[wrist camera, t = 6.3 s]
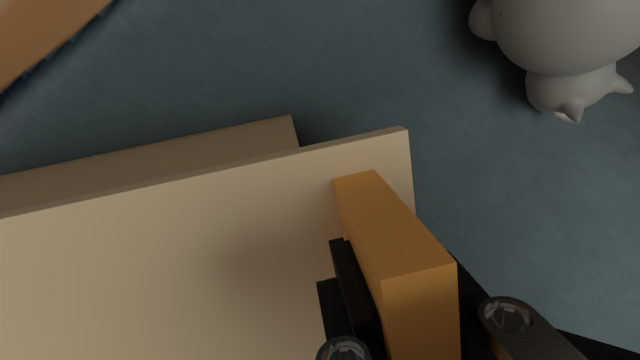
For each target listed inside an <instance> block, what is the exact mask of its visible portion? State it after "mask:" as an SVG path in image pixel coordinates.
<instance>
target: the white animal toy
mask: <svg viewBox="0 0 640 360" xmlns="http://www.w3.org/2000/svg"><path fill="white" fill-rule="evenodd" d="M468 24H469V28H470V30H471V31H472V32H473V33H474V34H475V35H476V36H478V37H480V38H482V39H485V40H491V41H497V44H498V45H499V47H500V49H501V50H502V52H503V53H504V54H505V55H506V56H507V57H508V58H509V59H510V60H511V61H512V62H513V63H515V64H516V65H518V66H519V67H521V68H523V69H525V70H527V73H526V78H525V85H526V90H527V92H526V95H527V99H528V101H529V103H530V104H531V105H532V106H533V107H535V108H536V109H537V110H538V111H541V112H544V111H549V112H551V113H552V114H553V115H554V116H556V117H557V118H559V119H560V120H563V121H566V122H570V123H579V122H580V121H581V119H582V117H583V112H584V108H586V107H588V106H590V105H592V104H594V103H596V102H597V101H598V100H600V99H601V98H602V97H603V96H605V95H606V94H608V93H611V92H618V93H624V94H629V93H632V92H633V91H634V89H633V87H632V86H631V84H630V83H629V82H628V81H627V80H626V79H624V78H623V77H622V76H620V75H618V74H617V73H616V63H615V61H617V60H619V59H621V58H623V57H625V56H626V55H628V54H630V53H631V52H632V51H634V50H635V49H637V48H638V47H639V46H640V0H477V1H476V3H475V4H474V6H473V8H472V10H471V12H470V15H469V20H468Z"/></svg>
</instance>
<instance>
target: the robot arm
mask: <svg viewBox="0 0 640 360" xmlns="http://www.w3.org/2000/svg"><path fill="white" fill-rule="evenodd" d="M328 242H329V247H330V252H331V256H332V261H333V265H334V270H335V275H336V277H334V278H330V279H326V280H322V281H317V282H316V286H317V292H318V298H319V303H320V309H321V314H322V320H323V325H324V331H325V336H326V342H325V343H324V344H323V345H322V346H321V347H320V349H319V350H318V352H317V355H316V358H315V360H387V356H386V350H385V343H384V337H383V331H382V325H381V320H380V316H379V313H378V310H377V307H376V305H375V302H374V300H373V297H372V295H371V293H370V290H369V288H368V285H367V283H366V280H365V278H364V275H363V273H362V270H361V268H360V265H359V263H358V260H357V258H356V256H355V253H354V251H353V248H352V246H351V243H350V241H349V240H345V241H344V238H343V237H341V238H336V239H332V240H328ZM446 251H447V250H446ZM447 252H448V253H449V254H450V255H451V256H452V257H453V259H454V260H455V261H456V262H457V279H458V300H459V322H460V344H461V360H640V354H639V353H636V352H633V351H629V350H626V349H623V348H619V347H616V346H612V345H609V344H606V343H602V342H599V341H596V340H592V339H589V338H586V337H582V336H579V335H576V334H572V333H569V332H566V331H562V330H559V329H555V328H554V327H553V326H552V325H551V324H550V323H549V322H548V321H547V320H545V319H544V318H543V317H542V316H541V315H540V314H539V313H538V312H537V311H536V310H535V309H534V308H532V307H531V306H530V305H528V304H527V303H525V302H523V301H521V300H519V299H516V298H512V297H506V296H496V297H490V296H489V295H488V294H487V293H486V292H485V291H484V289H483V288H482V287H481V286H480V285H479V284H478V283H477V282H476V281H475V279H474V278H473V277H472V276H471V275H470V274H469V273H468V272H467V271H466V269H465V268H464V267H463V266H462V265H461V264H460V263H459V262H458V260H457V259H456V258H455V257H454V256H453V255H452V254H451V253H450V252H449V251H447Z"/></svg>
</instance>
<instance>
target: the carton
mask: <svg viewBox="0 0 640 360" xmlns="http://www.w3.org/2000/svg"><path fill="white" fill-rule="evenodd" d="M295 148H299V143H298V139H297V136H296V132H295V128H294V125H293V121H292V117H291V114H286V115H281V116H276V117H272V118H267V119H262V120H258V121H253V122H248V123H244V124H239V125H234V126H229V127H225V128H220V129H215V130H211V131H206V132H201V133H197V134H192V135H187V136H183V137H178V138H173V139H168V140H164V141H159V142H154V143H150V144H145V145H140V146H136V147H131V148H126V149H122V150H117V151H112V152H107V153H103V154H98V155H93V156H89V157H84V158H79V159H75V160H70V161H65V162H61V163H56V164H51V165H46V166H42V167H37V168H32V169H28V170H23V171H18V172H14V173H9V174H4V175H0V213H2V212H7V211H11V210H16V209H20V208H25V207H29V206H34V205H39V204H43V203H48V202H52V201H57V200H61V199H66V198H71V197H75V196H80V195H84V194H89V193H93V192H98V191H103V190H107V189H112V188H116V187H121V186H125V185H130V184H135V183H139V182H144V181H148V180H153V179H158V178H162V177H167V176H171V175H176V174H180V173H185V172H190V171H194V170H199V169H203V168H208V167H212V166H217V165H222V164H226V163H231V162H235V161H240V160H244V159H249V158H254V157H258V156H263V155H267V154H272V153H276V152H281V151H286V150H290V149H295Z"/></svg>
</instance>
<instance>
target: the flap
mask: <svg viewBox="0 0 640 360" xmlns="http://www.w3.org/2000/svg"><path fill="white" fill-rule="evenodd" d="M341 237H343V238H344V241H345V240H349V241H350V243H351V246H352V248H353V251H354V253H355V256H356V258H357V260H358V263H359V265H360V268H361V270H362V273H363V275H364V278H365V280H366V283H367V285H368V288H369V290H370V293H371V295H372V297H373V300H374V302H375V305H376V307H377V310H378V313H379V316H380V320H381V325H382V331H383V337H384V343H385V350H386V356H387V360H461V344H460V322H459V300H458V279H457V262H456V261H455V260H454V259H453V257H452V256H451V255H450V254H449V253H448V252H447V251H446V249H445V248H444V247H443V246H442V245H441V244H440V243H439V242H438V240H437V239H436V238H435V237H434V236H433V235H432V234H431V233H430V231H429V230H428V229H427V228H426V227H425V226H424V225H423V223H422V222H421V221H420V220H419V219H418V218H417V217H416V211H415V200H414V190H413V179H412V169H411V158H410V147H409V137H408V130H407V129H406V128H404V127H402V126H395V127H391V128H386V129H382V130H377V131H372V132H368V133H363V134H359V135H354V136H350V137H345V138H340V139H336V140H331V141H327V142H322V143H318V144H313V145H308V146H304V147H299V148H295V149H290V150H286V151H281V152H276V153H272V154H267V155H263V156H258V157H254V158H249V159H244V160H240V161H235V162H231V163H226V164H222V165H217V166H212V167H208V168H203V169H199V170H194V171H190V172H185V173H180V174H176V175H171V176H167V177H162V178H158V179H153V180H148V181H144V182H139V183H135V184H130V185H125V186H121V187H116V188H112V189H107V190H103V191H98V192H93V193H89V194H84V195H80V196H75V197H71V198H66V199H61V200H57V201H52V202H48V203H43V204H39V205H34V206H29V207H25V208H20V209H16V210H11V211H7V212H2V213H0V360H315V358H316V355H317V352H318V350H319V349H320V347H321V346H322V345H323V344H324V343H325V342H326V336H325V331H324V325H323V320H322V314H321V309H320V303H319V298H318V292H317V286H316V282H317V281H322V280H326V279H330V278H334V277H336V275H335V270H334V265H333V261H332V256H331V252H330V247H329V242H328V240H332V239H336V238H341Z"/></svg>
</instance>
